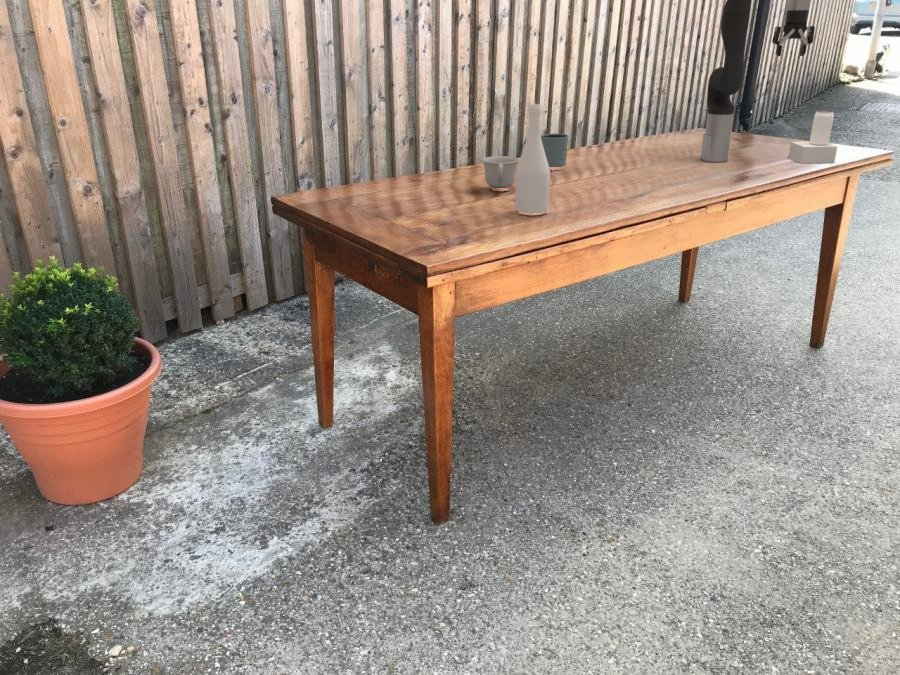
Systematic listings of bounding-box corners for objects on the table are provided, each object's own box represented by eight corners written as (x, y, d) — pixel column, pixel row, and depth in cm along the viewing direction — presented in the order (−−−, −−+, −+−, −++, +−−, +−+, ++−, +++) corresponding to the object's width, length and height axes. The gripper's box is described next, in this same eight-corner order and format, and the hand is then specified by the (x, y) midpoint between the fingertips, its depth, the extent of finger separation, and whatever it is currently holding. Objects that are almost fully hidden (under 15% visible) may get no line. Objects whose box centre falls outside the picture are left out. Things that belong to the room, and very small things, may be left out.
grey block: (801, 163, 267) (804, 147, 264) (788, 157, 277) (790, 141, 275) (834, 163, 266) (837, 146, 264) (819, 157, 277) (822, 141, 275)
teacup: (481, 196, 228) (481, 164, 224) (481, 186, 241) (481, 156, 237) (519, 196, 227) (520, 164, 223) (518, 186, 240) (518, 155, 236)
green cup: (568, 171, 262) (570, 137, 257) (540, 171, 262) (542, 137, 257) (564, 165, 271) (566, 133, 266) (537, 166, 271) (538, 133, 266)
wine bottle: (547, 208, 212) (551, 102, 200) (549, 217, 204) (553, 106, 191) (515, 208, 213) (517, 102, 201) (515, 217, 204) (517, 106, 192)
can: (831, 145, 266) (837, 111, 261) (813, 145, 266) (819, 111, 261) (824, 142, 272) (830, 109, 267) (806, 142, 272) (812, 109, 267)
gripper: (782, 9, 263) (775, 56, 270) (822, 8, 263) (813, 56, 269) (774, 9, 270) (767, 55, 276) (813, 8, 269) (804, 55, 276)
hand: (790, 56), depth 273 cm, fingers open, 8 cm apart
